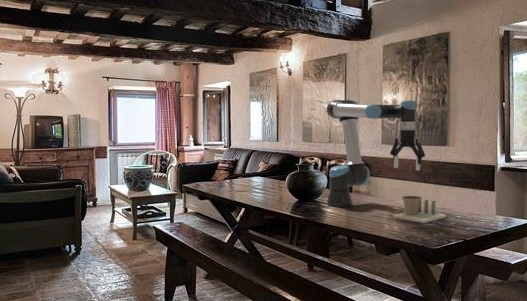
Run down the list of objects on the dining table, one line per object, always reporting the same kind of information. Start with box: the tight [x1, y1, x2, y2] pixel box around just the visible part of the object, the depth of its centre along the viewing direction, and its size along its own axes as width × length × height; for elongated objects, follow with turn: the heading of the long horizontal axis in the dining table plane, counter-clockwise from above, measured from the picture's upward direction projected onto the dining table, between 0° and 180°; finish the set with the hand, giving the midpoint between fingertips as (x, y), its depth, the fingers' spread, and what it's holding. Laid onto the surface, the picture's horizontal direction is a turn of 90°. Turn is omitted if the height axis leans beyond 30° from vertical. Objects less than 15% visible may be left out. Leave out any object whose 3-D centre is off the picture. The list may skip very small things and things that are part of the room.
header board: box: [392, 198, 447, 224], centre depth 223 cm, size 18×20×8 cm
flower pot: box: [401, 195, 422, 215], centre depth 226 cm, size 9×9×9 cm
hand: (406, 169), depth 233 cm, fingers open, 13 cm apart
